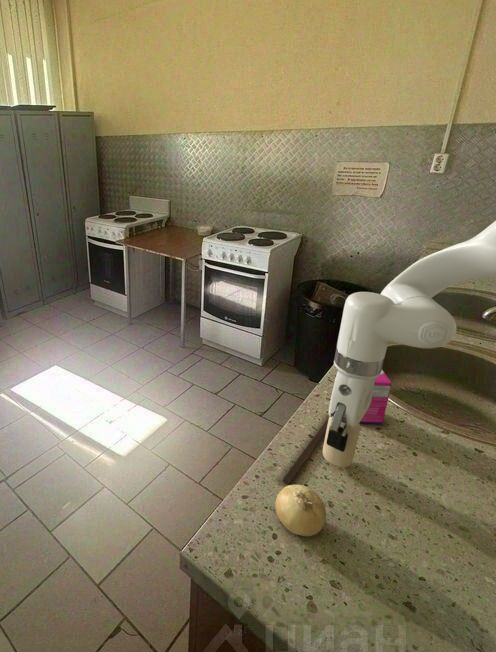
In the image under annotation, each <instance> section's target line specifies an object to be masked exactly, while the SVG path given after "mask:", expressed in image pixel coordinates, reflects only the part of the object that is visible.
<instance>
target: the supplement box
mask: <svg viewBox="0 0 496 652" xmlns="http://www.w3.org/2000/svg"><path fill="white" fill-rule="evenodd" d="M392 386H393V383H392V381H391V379H389V377H388V376H387V374H386V373H385V372H384V370H383V369H382V370H381V374H380V375H379V376H378V377H376V378H375V383H374V389H373V394H372V399H371V403H370V406H369V408H368V410H367V411H366V413H365V415H364V416H363V418H362V419H361V421H360V422H359V424H369V425H370V424H371V425H383V422H384V418H385V413H386V410H387V407H388V401H389V397H390V393H391V390H392Z"/></svg>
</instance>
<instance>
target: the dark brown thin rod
mask: <svg viewBox="0 0 496 652" xmlns="http://www.w3.org/2000/svg"><path fill="white" fill-rule="evenodd" d="M329 417H330V416H329V415H328V417H327V419H326V420H325V421H324V423H323V424H322V426H321V427H320V428H319V429H318V431H317V432H316V434H315V435H314V436H313V438H312V439H311V441H310V442H309V443H308V445H307V446H306V447H305V448H304V450H303V451H302V452H301V454H300V456H298V458H297V459H296V460H295V462H294V463H293V464H292V466H291V468H290V469H289V470H288V472H287V473H286V474H285V476H284V477H283V478H282V482H283V483H285V484H287V486H289V485H290V484H291V482H292V480H293V479H294V478H295V477H296V475H297V474H298V473H299V471H300V470H301V468H302V467H303V465H304V464H305V463H306V462H307V460H308V458H310V455H311V454H312V452H313V451H314V450H315V448H316V447H317V446H318V445H319V442H320V441H321V440H322V438H323V437H325V435H326V430H327V425H328V420H329Z"/></svg>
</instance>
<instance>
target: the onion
mask: <svg viewBox="0 0 496 652" xmlns="http://www.w3.org/2000/svg"><path fill="white" fill-rule="evenodd" d="M274 507H275V512H276V514H277V518H278V519H279V521H280V522H281V523H282V525H283V526H284V527H285V528H286V529H287V530H288V531H289V532H290V533H292V534H294V535H297V536H302V537H312V536H315V535H317V534H318V533H320V531H322V529H323V527H324V526H325V524H326V517H327V509H326V506H325V504H324V501H323V500H322V498H321V497H320V496H319V494H318V493H317V492H316V491H315V490H313V489H312V488H311V487H308V486H305V485H302V484H289V485H286V486H284V487H283V488H282V489H281V490H279V493H278V494H277V496H276V499H275V505H274Z"/></svg>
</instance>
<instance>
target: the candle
mask: <svg viewBox="0 0 496 652" xmlns="http://www.w3.org/2000/svg"><path fill="white" fill-rule="evenodd" d="M328 417H329V416H328ZM343 417H344V418H346V417H345V416H343ZM332 418H333V417H329V420H328V425H327V430H326V433H325V434H324V442H323V445H322V446H323V447H322V456H323V457H324V458H323V459H325V460H326V462H328V463H329V464H331V465H333V466H335V467H339V468H340V467H341V468H347V467H349V466H351V465H352V464H353V462H354V458H355V453H356V450H357V445H358V440H359V437H360V433H361V427H362V426H361V423H359V424H358V425H357V426H355V427H352V426H350V425H349V427H348V431H347V434H348V438H347V443H346V447H345V450H344V452H341V451H339V450H337V449H335V448H333V447H331V446H329V445H327V438H328V433H329V428H330V425H331V421H332ZM344 425H345V423H343V422H341V424H340V427H342V428H343V429H344Z"/></svg>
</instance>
